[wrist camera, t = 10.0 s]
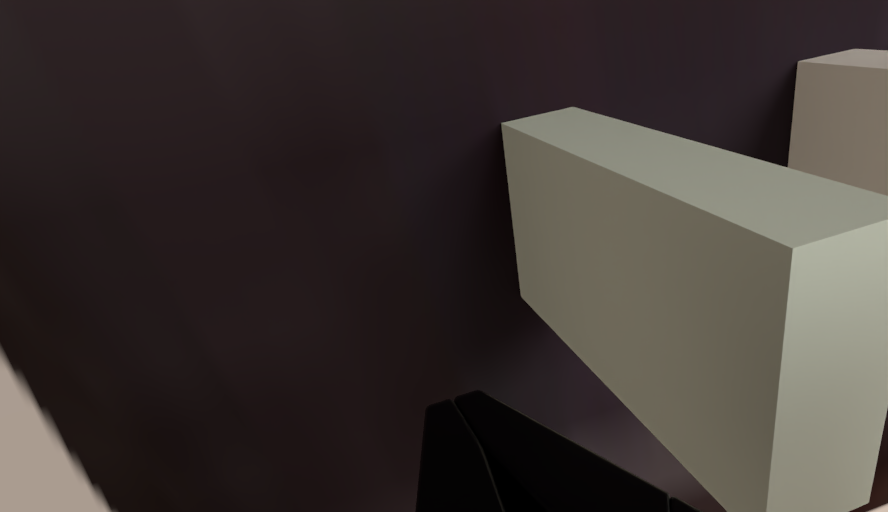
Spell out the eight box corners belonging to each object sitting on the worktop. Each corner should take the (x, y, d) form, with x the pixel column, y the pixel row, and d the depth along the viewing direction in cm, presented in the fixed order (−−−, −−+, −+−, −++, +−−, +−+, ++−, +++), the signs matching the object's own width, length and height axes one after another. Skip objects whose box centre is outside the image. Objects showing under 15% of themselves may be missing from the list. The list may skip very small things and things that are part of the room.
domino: (520, 296, 17) (762, 548, 9) (501, 122, 15) (792, 248, 7) (583, 278, 17) (868, 503, 9) (573, 106, 15) (927, 207, 7)
